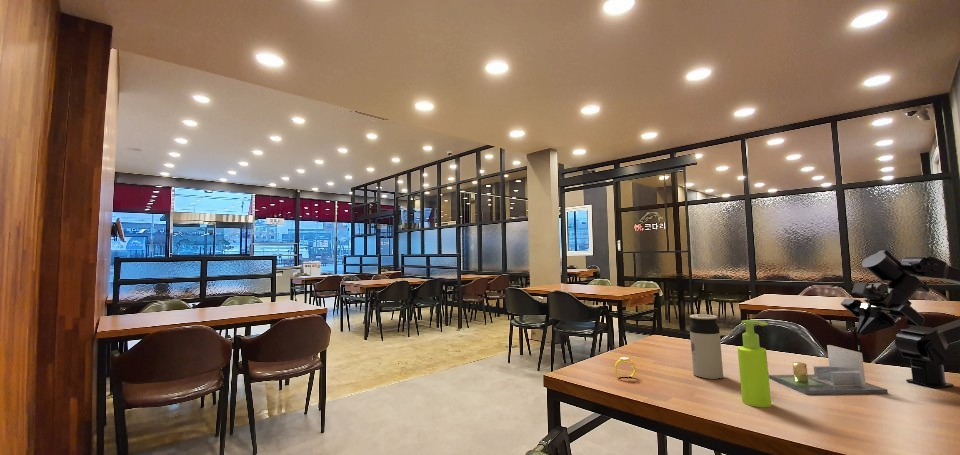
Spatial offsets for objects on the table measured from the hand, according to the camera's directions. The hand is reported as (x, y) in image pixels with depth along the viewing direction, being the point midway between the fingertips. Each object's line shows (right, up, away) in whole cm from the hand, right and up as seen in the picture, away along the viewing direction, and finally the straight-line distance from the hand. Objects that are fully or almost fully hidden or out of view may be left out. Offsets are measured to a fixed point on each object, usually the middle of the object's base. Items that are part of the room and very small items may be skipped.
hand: (859, 334), depth 109 cm
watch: (-60, -17, +13) cm, 63 cm away
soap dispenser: (-36, -14, -12) cm, 41 cm away
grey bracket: (-7, -13, -1) cm, 14 cm away
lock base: (-10, -14, -1) cm, 17 cm away
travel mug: (-35, -16, +12) cm, 40 cm away
